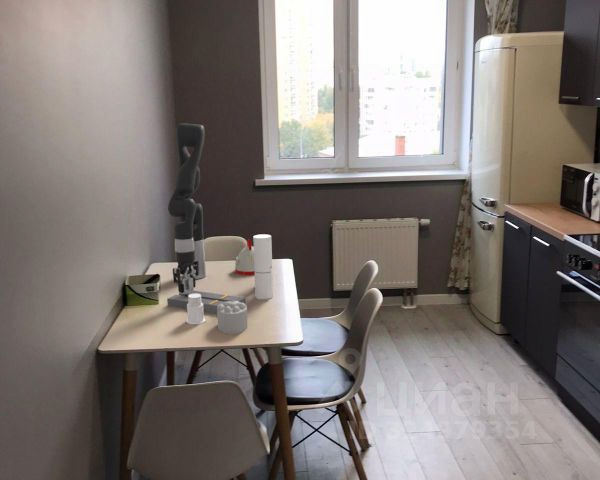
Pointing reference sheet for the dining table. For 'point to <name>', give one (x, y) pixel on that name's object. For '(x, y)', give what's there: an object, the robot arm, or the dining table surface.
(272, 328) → the dining table surface
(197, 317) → the downlight
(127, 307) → the dining table surface
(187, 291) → the fader knob
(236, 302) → the lumpy-topped squat cylinder
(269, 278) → the cylindrical container
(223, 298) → the fader console
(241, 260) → the kitchen timer
